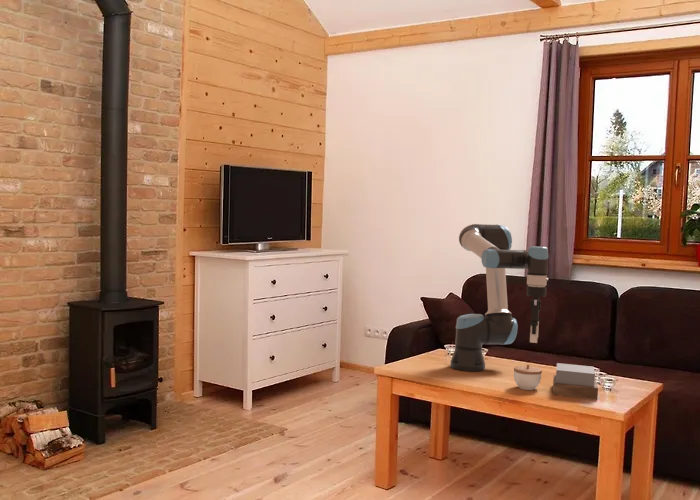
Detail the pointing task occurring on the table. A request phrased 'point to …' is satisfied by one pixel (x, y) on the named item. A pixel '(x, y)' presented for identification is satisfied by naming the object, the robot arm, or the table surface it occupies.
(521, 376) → the lidded jar
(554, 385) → the tower base
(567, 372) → the grey square slab
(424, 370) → the table surface
